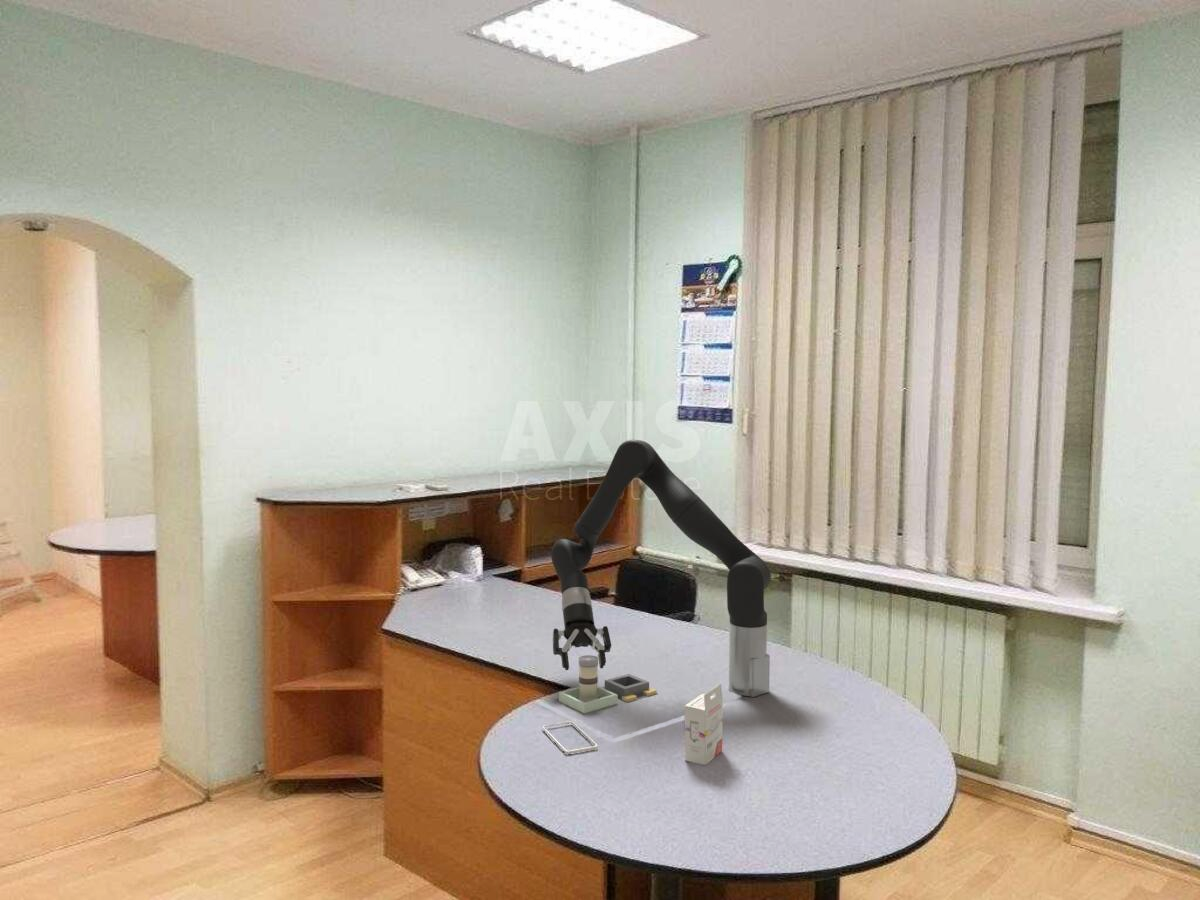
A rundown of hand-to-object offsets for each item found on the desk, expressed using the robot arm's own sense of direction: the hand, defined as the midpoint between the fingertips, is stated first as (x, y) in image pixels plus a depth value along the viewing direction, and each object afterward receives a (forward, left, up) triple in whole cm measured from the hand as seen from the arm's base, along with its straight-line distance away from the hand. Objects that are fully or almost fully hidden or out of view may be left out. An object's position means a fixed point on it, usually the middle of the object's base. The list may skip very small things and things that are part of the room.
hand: (584, 667), depth 217 cm
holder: (-4, -10, -8) cm, 14 cm away
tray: (-4, +2, -8) cm, 9 cm away
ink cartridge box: (-41, 0, -8) cm, 42 cm away
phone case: (-17, +17, -9) cm, 25 cm away
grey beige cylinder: (-4, +2, -7) cm, 8 cm away
